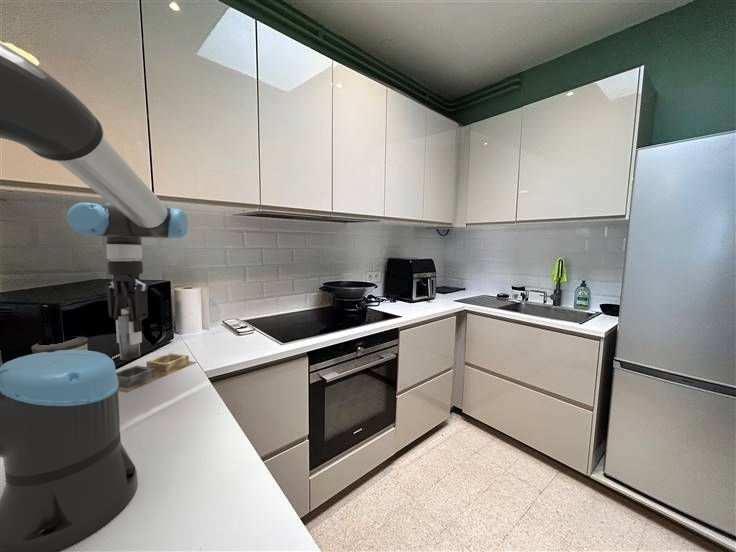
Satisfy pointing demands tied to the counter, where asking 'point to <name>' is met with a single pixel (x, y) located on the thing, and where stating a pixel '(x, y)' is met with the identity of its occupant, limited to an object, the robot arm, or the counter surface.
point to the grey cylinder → (126, 337)
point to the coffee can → (62, 346)
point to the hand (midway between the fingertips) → (129, 342)
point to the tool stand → (151, 371)
